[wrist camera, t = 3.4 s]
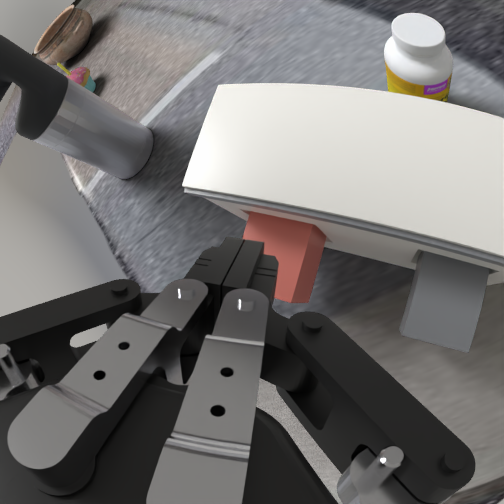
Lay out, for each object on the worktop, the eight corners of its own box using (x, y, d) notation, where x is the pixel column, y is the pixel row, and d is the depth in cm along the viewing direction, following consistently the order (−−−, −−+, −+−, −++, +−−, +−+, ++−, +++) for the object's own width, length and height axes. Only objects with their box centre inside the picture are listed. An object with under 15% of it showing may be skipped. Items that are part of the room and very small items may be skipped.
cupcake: (89, 77, 60) (53, 55, 49) (107, 74, 56) (69, 49, 45) (72, 108, 60) (34, 88, 49) (89, 108, 56) (48, 84, 45)
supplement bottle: (419, 144, 29) (425, 67, 18) (378, 106, 32) (363, 27, 20) (455, 112, 28) (470, 34, 16) (414, 78, 30) (410, -2, 18)
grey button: (399, 329, 23) (402, 335, 18) (418, 256, 23) (425, 246, 19) (453, 343, 21) (468, 352, 16) (472, 270, 21) (490, 263, 16)
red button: (256, 286, 28) (229, 283, 24) (274, 222, 29) (251, 207, 24) (308, 302, 26) (290, 303, 22) (327, 234, 27) (313, 219, 22)
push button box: (269, 236, 35) (180, 190, 20) (288, 166, 35) (218, 84, 21) (478, 290, 25) (553, 277, 10) (491, 209, 25) (554, 137, 11)
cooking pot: (119, 13, 63) (91, -9, 52) (86, 65, 62) (52, 44, 51) (77, 33, 74) (53, 16, 63) (49, 78, 73) (22, 63, 62)
